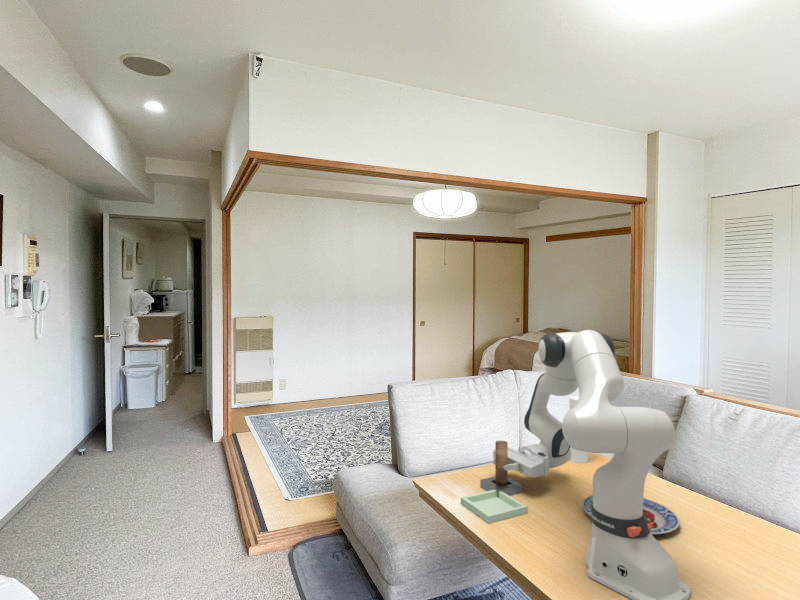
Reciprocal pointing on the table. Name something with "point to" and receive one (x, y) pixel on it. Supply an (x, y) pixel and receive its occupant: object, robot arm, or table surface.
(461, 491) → the table surface
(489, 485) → the socket block
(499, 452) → the dowel
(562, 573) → the table surface
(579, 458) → the cylindrical container
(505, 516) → the tray
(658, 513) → the ceramic plate
